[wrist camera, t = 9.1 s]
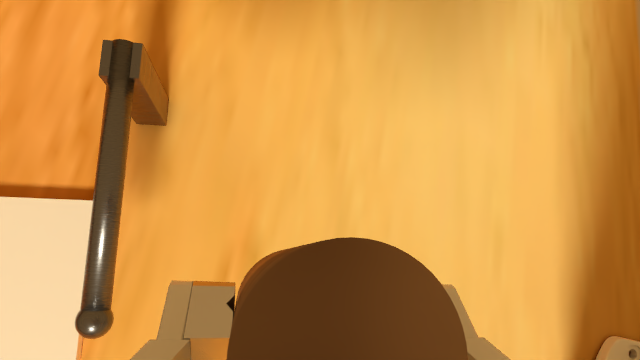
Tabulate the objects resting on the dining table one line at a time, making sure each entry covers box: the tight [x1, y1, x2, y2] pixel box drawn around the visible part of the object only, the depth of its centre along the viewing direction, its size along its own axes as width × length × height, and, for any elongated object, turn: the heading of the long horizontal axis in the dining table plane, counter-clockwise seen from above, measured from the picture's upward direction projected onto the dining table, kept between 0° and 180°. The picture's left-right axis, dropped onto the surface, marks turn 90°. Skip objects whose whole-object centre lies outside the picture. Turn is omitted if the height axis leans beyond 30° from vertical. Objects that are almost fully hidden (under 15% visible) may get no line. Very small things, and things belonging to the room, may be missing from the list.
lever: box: [75, 39, 169, 339], centre depth 31 cm, size 2×18×10 cm, turn 179°
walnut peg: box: [226, 237, 468, 360], centre depth 11 cm, size 4×4×9 cm
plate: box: [0, 197, 93, 360], centre depth 33 cm, size 12×12×1 cm
